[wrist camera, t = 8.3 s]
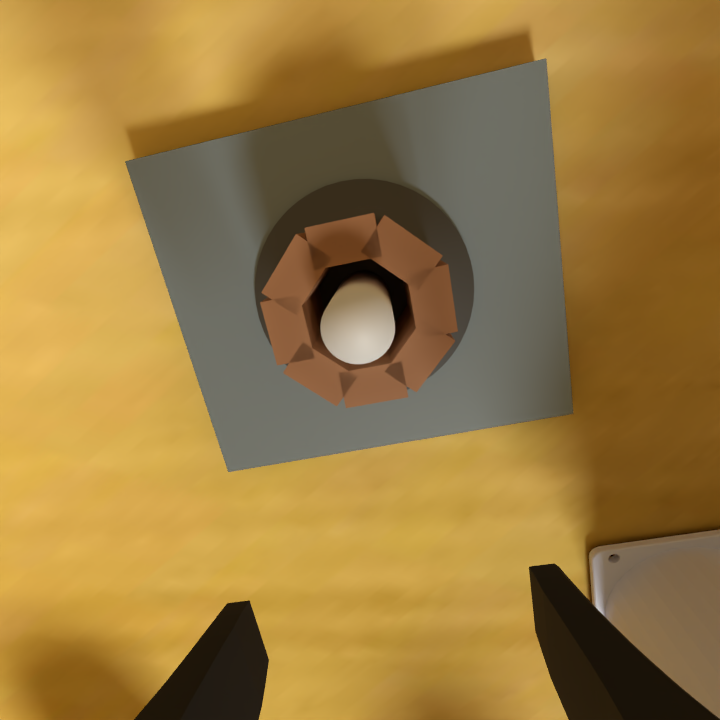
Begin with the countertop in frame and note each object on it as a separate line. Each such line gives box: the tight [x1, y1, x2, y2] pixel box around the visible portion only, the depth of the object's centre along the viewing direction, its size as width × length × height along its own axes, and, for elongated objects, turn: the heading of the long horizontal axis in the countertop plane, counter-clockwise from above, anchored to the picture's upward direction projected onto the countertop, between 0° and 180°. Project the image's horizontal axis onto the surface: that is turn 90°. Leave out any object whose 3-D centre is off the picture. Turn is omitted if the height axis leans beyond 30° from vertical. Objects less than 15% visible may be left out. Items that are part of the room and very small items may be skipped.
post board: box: [125, 59, 573, 472], centre depth 15 cm, size 15×13×7 cm
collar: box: [260, 213, 458, 408], centre depth 15 cm, size 6×6×4 cm
